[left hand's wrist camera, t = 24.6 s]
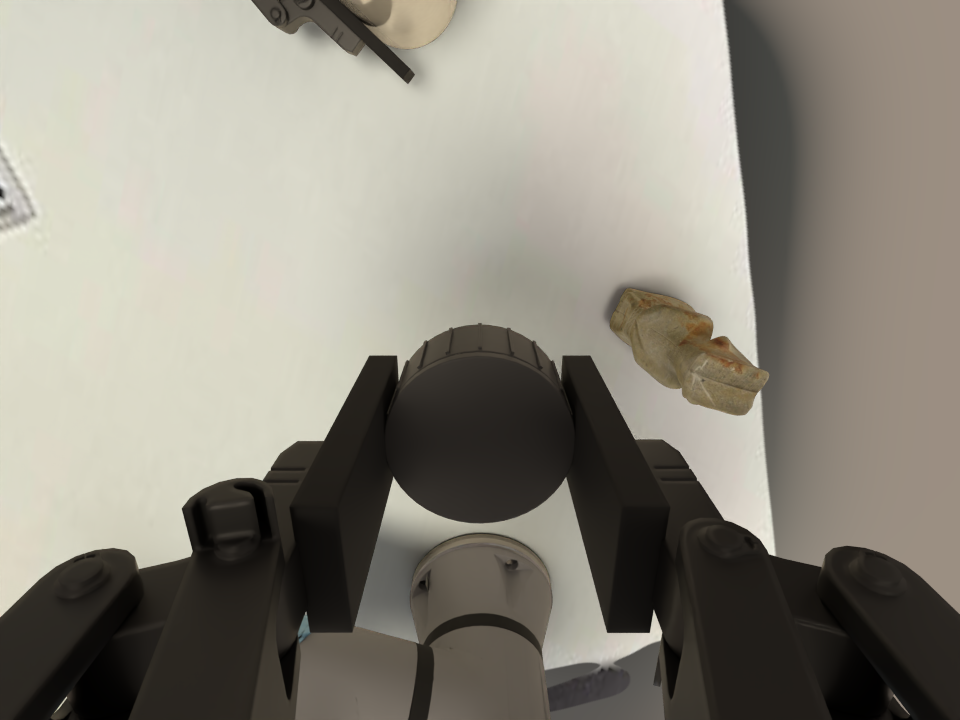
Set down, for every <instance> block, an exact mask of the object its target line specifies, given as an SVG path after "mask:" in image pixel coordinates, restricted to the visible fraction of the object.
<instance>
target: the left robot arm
mask: <svg viewBox="0 0 960 720" xmlns="http://www.w3.org/2000/svg"><path fill="white" fill-rule="evenodd" d="M398 383H399V379H398V363H397V356H369V357H368V359H367V361H366V363H365V365H364V367H363V369H362V371H361V373H360V374H359V376H358V378H357V380H356V382H355V384H354V386H353V388H352V390H351V391H350V393H349V395H348V397H347V399H346V401H345V403H344V405H343V406H342V408H341V410H340V412H339V414H338V416H337V418H336V420H335V422H334V423H333V425H332V427H331V429H330V431H329V433H328V435H327V437H326V438H325V440H324V441H297V442H296V443H294V444H293V445H292V446H290V447H289V448H287V449H286V450H285V451H283V452H282V453H281V454H280V455H279V456H278V458H277V460H276V461H275V463H274V464H273V466H272V467H271V471H269V472H268V473H267V475H266V476H265V478H264V479H263V481H262V480H258V479H254V478H236V479H231V480H227V481H222V482H218V483H216V484H214V485H211V486H209V487H207V488H204V489H202V490H201V491H200V492H198V493H197V494H195V495H194V496H192V497H191V498H190V499H189V500H188V501H187V503H186V504H185V505H184V506H183V508H182V511H183V515H184V519H185V523H186V527H187V531H188V534H189V538H190V542H191V546H192V550H193V552H192V555H191V557H188V558H185V559H181V560H178V561H174V562H169V563H165V564H160V565H156V566H151V567H147V568H142V569H138V566H137V563H136V559H135V557H134V556H133V555H132V554H131V553H129V552H128V551H127V550H122V549H116V548H110V549H101V550H95V551H91V552H88V553H85V554H82V555H79V556H76V557H74V558H72V559H70V560H68V561H66V562H64V563H62V564H60V565H58V566H56V567H55V568H54V569H52V570H51V571H50V572H49V573H47V574H46V575H45V576H43V577H42V578H41V579H40V580H39V581H38V582H36V583H35V584H34V585H33V586H32V587H31V588H30V589H29V590H28V591H27V592H26V593H25V594H24V595H23V596H22V597H21V598H20V599H19V600H18V601H17V602H16V603H15V604H14V605H13V606H12V607H11V608H10V609H9V610H8V611H6V612H5V613H4V614H3V615H2V616H1V617H0V720H551V717H550V709H549V702H548V694H547V687H546V679H545V671H544V665H543V657H542V646H543V642H544V638H545V634H546V629H547V625H548V621H549V616H550V612H551V609H552V590H551V584H550V579H549V575H548V572H547V570H546V568H545V566H544V564H543V563H542V561H541V560H540V559H539V557H538V556H537V555H536V554H535V553H534V552H533V551H531V550H530V549H529V548H527V547H526V546H524V545H522V544H521V543H519V542H517V541H514V540H512V539H509V538H506V537H502V536H497V535H490V534H473V535H465V536H461V537H457V538H453V539H451V540H448V541H446V542H444V543H442V544H440V545H438V546H437V547H435V548H434V549H433V550H431V551H430V552H429V553H428V554H427V555H426V556H425V557H424V558H423V559H422V560H421V562H420V563H419V565H418V566H417V568H416V570H415V573H414V576H413V580H412V587H411V593H410V606H411V611H412V615H413V619H414V623H415V627H416V631H417V635H418V639H419V644H418V643H415V642H412V641H408V640H404V639H400V638H396V637H392V636H388V635H385V634H381V633H378V632H374V631H370V630H367V629H363V628H359V627H356V626H354V625H355V621H356V617H357V613H358V610H359V606H360V602H361V598H362V594H363V591H364V587H365V583H366V579H367V575H368V572H369V568H370V564H371V560H372V556H373V552H374V549H375V545H376V541H377V537H378V533H379V530H380V526H381V522H382V518H383V514H384V511H385V507H386V503H387V499H388V495H389V491H390V488H391V484H392V480H393V474H392V472H391V470H390V468H389V465H388V462H387V459H386V447H385V424H386V420H387V412H388V409H389V406H390V404H391V401H392V398H393V395H394V392H395V389H396V386H397V384H398ZM561 384H562V385H563V388H564V391H565V393H566V396H567V399H568V402H569V405H570V408H571V411H572V414H573V420H574V425H575V442H574V455H573V461H572V465H571V467H570V469H569V472H568V474H567V476H566V478H567V481H568V485H569V489H570V493H571V497H572V500H573V504H574V508H575V512H576V516H577V519H578V523H579V527H580V531H581V535H582V539H583V542H584V546H585V550H586V554H587V558H588V561H589V565H590V569H591V573H592V577H593V580H594V584H595V588H596V592H597V596H598V599H599V603H600V607H601V611H602V615H603V619H604V622H605V626H606V630H607V633H650V628H651V622H652V616H653V610H654V611H655V614H656V616H657V619H658V622H659V624H660V627H661V630H662V638H661V643H660V649H659V655H658V660H657V666H656V672H655V678H654V685H655V686H660V684H661V682H662V693H663V703H664V715H665V720H960V614H959V613H958V612H957V611H956V610H955V609H953V607H951V606H950V605H949V604H948V603H947V602H946V601H945V600H944V599H943V598H942V597H941V596H940V595H939V594H938V593H937V592H936V591H935V590H934V589H933V588H932V587H931V586H930V585H929V584H928V583H926V582H925V581H924V580H923V579H922V578H921V577H920V576H919V575H918V574H916V573H915V572H914V571H912V570H911V569H910V568H908V567H907V566H906V565H904V564H903V563H901V562H899V561H897V560H895V559H893V558H891V557H889V556H887V555H885V554H882V553H880V552H877V551H873V550H870V549H867V548H861V547H852V546H843V547H837V548H833V549H832V550H831V551H829V552H828V553H827V554H826V555H825V558H824V561H823V564H822V567H818V566H814V565H809V564H804V563H800V562H796V561H791V560H787V559H782V558H779V557H776V556H772V555H769V554H768V551H767V550H766V548H765V547H764V545H763V544H762V542H761V541H760V539H758V538H757V537H756V536H755V535H753V534H752V533H751V532H750V531H748V530H747V529H745V528H743V527H741V526H739V525H736V524H734V523H732V522H729V521H725V520H724V519H723V517H722V516H721V514H720V513H719V511H718V510H717V508H716V507H715V505H714V504H713V502H712V501H711V499H710V498H709V496H708V494H707V493H706V491H705V490H704V488H703V487H702V485H701V484H700V482H699V481H697V478H696V476H695V475H694V473H693V472H692V470H691V469H689V466H688V464H687V463H686V461H685V459H684V458H683V456H682V455H681V453H680V452H679V451H678V450H676V449H675V448H673V447H672V446H670V445H669V444H668V443H666V442H665V441H663V440H635V439H634V437H633V435H632V434H631V432H630V430H629V428H628V426H627V424H626V422H625V420H624V418H623V417H622V415H621V413H620V411H619V409H618V407H617V405H616V403H615V401H614V400H613V398H612V396H611V394H610V392H609V390H608V388H607V386H606V385H605V383H604V381H603V379H602V377H601V375H600V373H599V371H598V369H597V368H596V366H595V364H594V362H593V360H592V358H591V356H563V357H562V373H561ZM306 612H307V615H305V613H306ZM894 694H895V696H896V697H897V698H898V700H899V701H900V702H901V704H902V705H903V706H904V707H905V709H906V710H907V711H908V713H909V714H910V715H909V714H908V713H907V712H906V711H905V710H904V709H903V708H902V707H901V706H900V704H899V703H898V702H897V701H896V699H895V698H894V697H893V695H894ZM66 696H67V699H66V700H65V702H64V703H63V704H62V706H61V707H60V708H59V709H58V710H57V711H56V709H57V708H58V707H59V705H60V704H61V703H62V702H63V700H64V699H65V698H66ZM55 711H56V712H55ZM54 712H55V713H54ZM53 713H54V714H53Z"/></svg>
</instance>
